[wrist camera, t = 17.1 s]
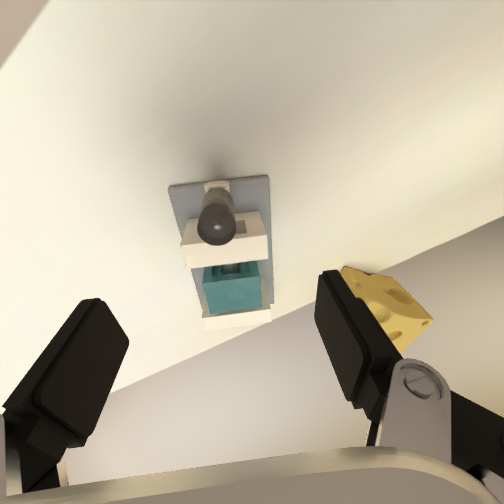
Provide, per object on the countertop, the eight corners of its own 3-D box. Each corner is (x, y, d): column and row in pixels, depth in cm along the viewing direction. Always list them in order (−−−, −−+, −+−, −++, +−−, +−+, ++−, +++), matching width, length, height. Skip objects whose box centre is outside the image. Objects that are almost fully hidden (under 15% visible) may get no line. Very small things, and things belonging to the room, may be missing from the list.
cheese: (343, 264, 37) (378, 310, 28) (395, 275, 39) (441, 320, 31) (316, 308, 42) (339, 359, 34) (363, 315, 44) (396, 364, 36)
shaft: (202, 182, 24) (193, 213, 17) (230, 178, 24) (233, 208, 17) (226, 303, 33) (227, 356, 26) (246, 300, 34) (252, 352, 26)
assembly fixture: (169, 186, 27) (152, 210, 21) (267, 175, 28) (280, 195, 21) (204, 307, 39) (199, 348, 32) (272, 298, 39) (282, 336, 33)
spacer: (206, 250, 31) (202, 283, 25) (253, 244, 31) (259, 276, 26) (212, 278, 34) (210, 313, 28) (255, 272, 34) (262, 306, 28)
